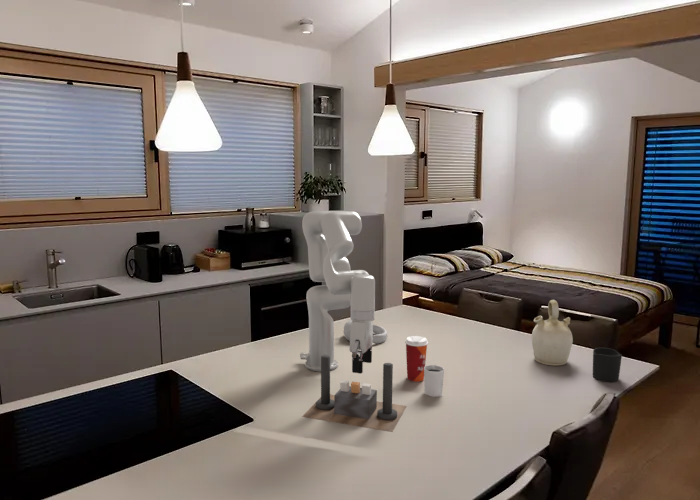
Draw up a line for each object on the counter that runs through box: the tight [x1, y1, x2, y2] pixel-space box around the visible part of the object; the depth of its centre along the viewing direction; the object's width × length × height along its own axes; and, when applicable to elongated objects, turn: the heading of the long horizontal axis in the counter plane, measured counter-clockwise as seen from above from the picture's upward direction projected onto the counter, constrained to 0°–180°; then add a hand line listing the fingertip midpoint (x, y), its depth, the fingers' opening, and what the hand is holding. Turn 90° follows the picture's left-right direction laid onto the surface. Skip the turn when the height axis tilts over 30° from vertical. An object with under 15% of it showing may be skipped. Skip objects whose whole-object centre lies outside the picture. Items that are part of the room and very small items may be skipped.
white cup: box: [423, 364, 445, 398], centre depth 177 cm, size 7×7×10 cm
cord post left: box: [315, 355, 334, 411], centre depth 166 cm, size 6×6×16 cm
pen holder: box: [592, 347, 623, 383], centre depth 195 cm, size 9×9×10 cm
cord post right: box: [377, 362, 397, 421], centre depth 159 cm, size 6×6×16 cm
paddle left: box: [339, 379, 350, 392], centre depth 163 cm, size 2×1×3 cm, turn 71°
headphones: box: [343, 319, 388, 344], centre depth 240 cm, size 18×8×20 cm
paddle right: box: [361, 382, 372, 395], centre depth 161 cm, size 2×1×3 cm, turn 71°
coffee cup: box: [404, 335, 429, 383], centre depth 193 cm, size 8×8×15 cm
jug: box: [531, 299, 574, 367], centre depth 212 cm, size 15×16×25 cm
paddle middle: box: [350, 381, 361, 394], centre depth 162 cm, size 2×1×3 cm, turn 71°
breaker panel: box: [302, 385, 408, 433], centre depth 163 cm, size 28×18×8 cm, turn 71°
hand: (362, 367), depth 167 cm, fingers open, 9 cm apart
